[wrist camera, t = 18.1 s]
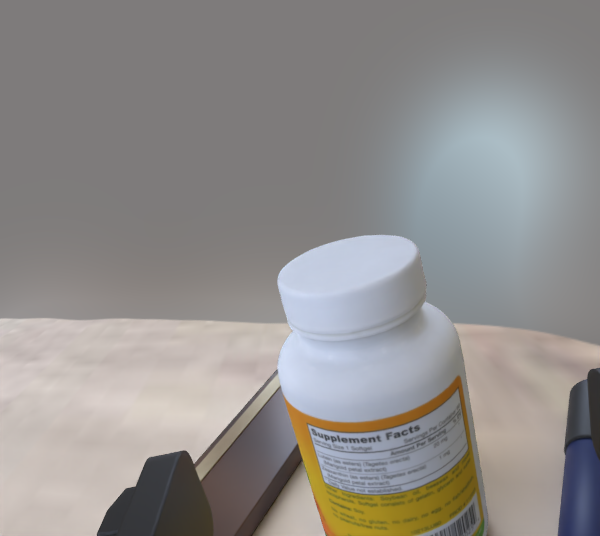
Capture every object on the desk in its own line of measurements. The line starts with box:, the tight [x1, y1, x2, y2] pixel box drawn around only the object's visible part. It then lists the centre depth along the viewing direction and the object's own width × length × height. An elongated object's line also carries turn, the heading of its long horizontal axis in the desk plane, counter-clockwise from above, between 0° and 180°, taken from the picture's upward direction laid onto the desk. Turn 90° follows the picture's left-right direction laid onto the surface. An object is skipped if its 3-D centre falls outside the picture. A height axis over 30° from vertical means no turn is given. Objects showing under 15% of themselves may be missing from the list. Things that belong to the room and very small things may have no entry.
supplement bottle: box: [278, 235, 488, 536], centre depth 16 cm, size 5×5×10 cm
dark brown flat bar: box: [194, 369, 302, 536], centre depth 22 cm, size 17×4×1 cm, turn 152°
